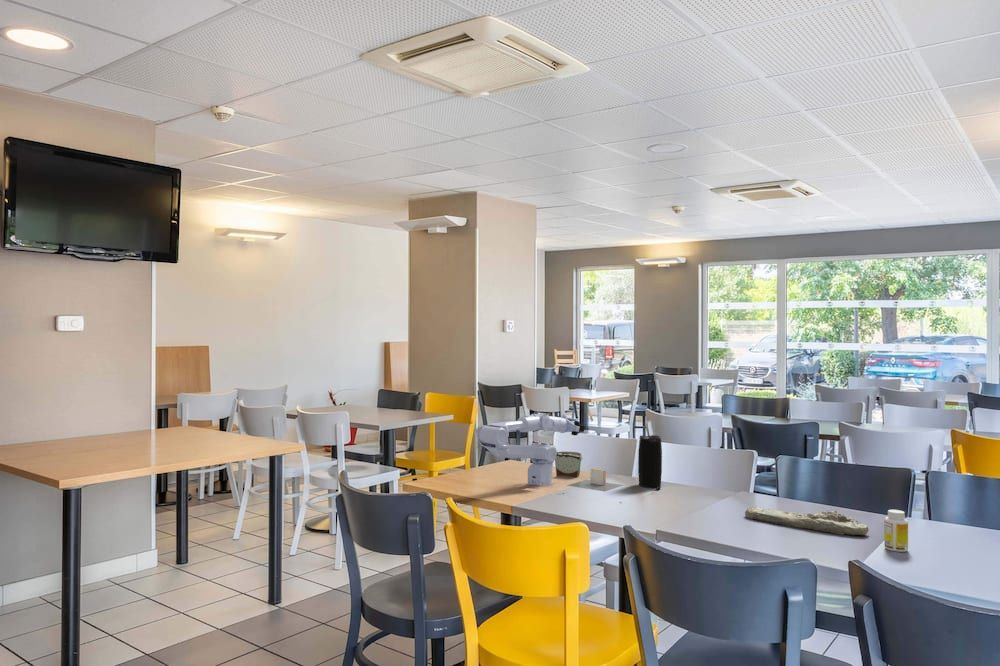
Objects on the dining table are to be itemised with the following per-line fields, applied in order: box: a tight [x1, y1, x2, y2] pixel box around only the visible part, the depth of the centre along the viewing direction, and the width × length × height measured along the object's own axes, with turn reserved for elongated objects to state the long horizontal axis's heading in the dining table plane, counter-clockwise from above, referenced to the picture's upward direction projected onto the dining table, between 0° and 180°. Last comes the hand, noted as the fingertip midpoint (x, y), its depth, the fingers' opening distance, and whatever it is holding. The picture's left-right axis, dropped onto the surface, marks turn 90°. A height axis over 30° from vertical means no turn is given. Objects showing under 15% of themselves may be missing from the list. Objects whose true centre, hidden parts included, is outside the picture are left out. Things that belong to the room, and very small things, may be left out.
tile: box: [590, 468, 607, 486], centre depth 266 cm, size 2×6×6 cm, turn 53°
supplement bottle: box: [883, 509, 909, 553], centre depth 190 cm, size 6×6×10 cm
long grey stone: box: [744, 506, 870, 536], centre depth 214 cm, size 35×5×10 cm
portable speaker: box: [637, 434, 663, 492], centre depth 264 cm, size 9×9×20 cm
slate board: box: [566, 479, 624, 492], centre depth 264 cm, size 14×16×1 cm
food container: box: [554, 450, 584, 478], centre depth 284 cm, size 12×6×10 cm, turn 58°
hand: (576, 426), depth 283 cm, fingers open, 7 cm apart
